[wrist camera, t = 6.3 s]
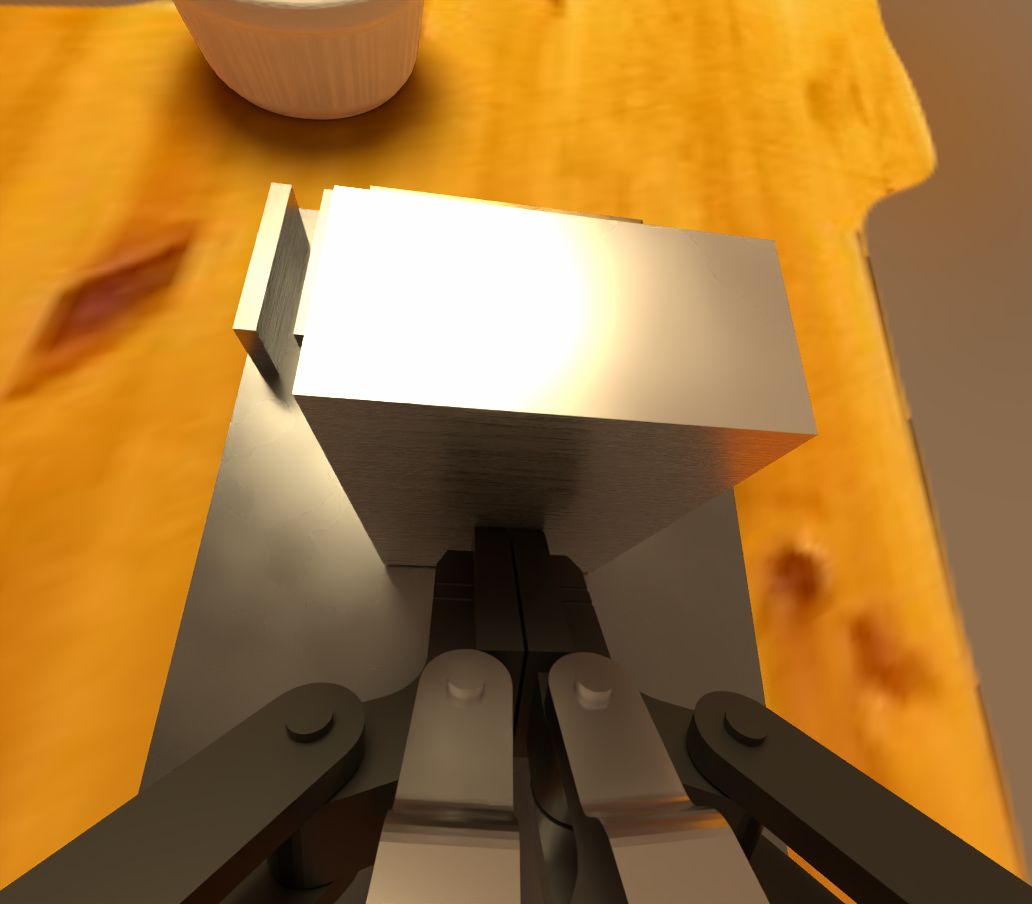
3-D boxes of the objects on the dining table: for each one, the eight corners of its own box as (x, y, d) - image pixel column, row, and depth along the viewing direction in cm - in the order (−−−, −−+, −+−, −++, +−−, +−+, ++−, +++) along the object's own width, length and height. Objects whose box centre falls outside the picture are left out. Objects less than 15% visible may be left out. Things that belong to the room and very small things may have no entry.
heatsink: (784, 1130, 13) (983, 1398, 8) (82, 1197, 11) (-188, 1599, 6) (677, 288, 23) (740, 189, 18) (297, 246, 21) (256, 123, 16)
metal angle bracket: (591, 572, 15) (817, 435, 6) (383, 564, 15) (292, 393, 5) (580, 275, 20) (705, -68, 10) (417, 257, 19) (399, -129, 10)
